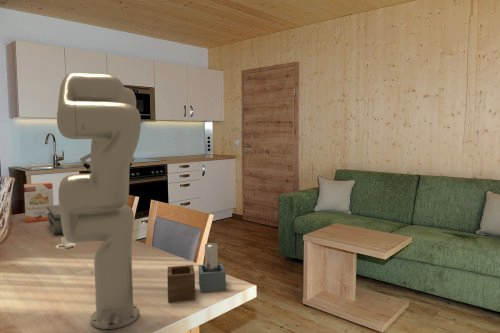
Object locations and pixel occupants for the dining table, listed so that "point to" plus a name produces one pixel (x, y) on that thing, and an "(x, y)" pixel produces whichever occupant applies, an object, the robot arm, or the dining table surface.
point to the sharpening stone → (55, 219)
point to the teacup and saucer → (65, 243)
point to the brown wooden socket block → (181, 283)
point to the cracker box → (37, 201)
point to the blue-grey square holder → (212, 279)
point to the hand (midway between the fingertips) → (108, 182)
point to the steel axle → (211, 257)
